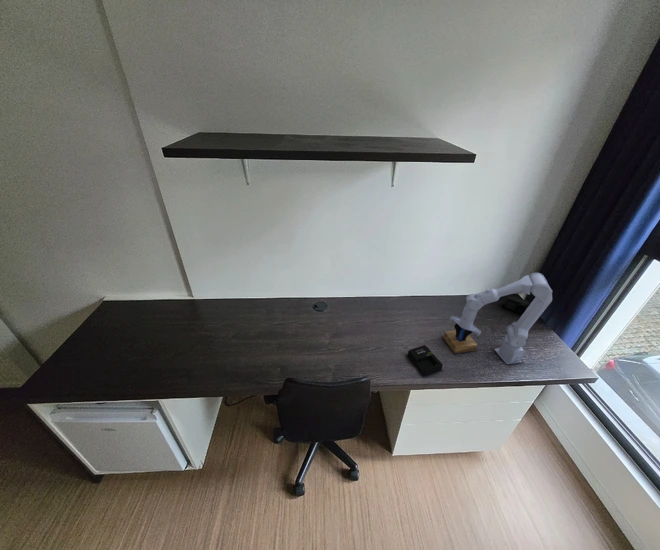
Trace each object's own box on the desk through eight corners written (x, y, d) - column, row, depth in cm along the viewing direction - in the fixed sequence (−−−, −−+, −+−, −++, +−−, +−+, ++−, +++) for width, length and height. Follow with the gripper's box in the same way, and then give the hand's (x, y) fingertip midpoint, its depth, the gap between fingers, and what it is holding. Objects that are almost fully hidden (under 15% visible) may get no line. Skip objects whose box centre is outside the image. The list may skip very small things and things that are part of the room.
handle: (463, 341, 145) (468, 328, 140) (460, 344, 143) (465, 331, 139) (458, 338, 147) (462, 325, 142) (455, 341, 145) (459, 328, 140)
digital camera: (503, 309, 170) (507, 299, 166) (504, 304, 174) (508, 295, 170) (523, 315, 165) (528, 306, 161) (524, 310, 169) (528, 301, 165)
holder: (475, 350, 142) (477, 344, 140) (454, 353, 140) (456, 347, 138) (462, 334, 151) (464, 329, 149) (443, 337, 150) (444, 331, 147)
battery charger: (407, 355, 139) (408, 349, 137) (423, 350, 142) (425, 344, 140) (423, 376, 129) (425, 370, 126) (441, 370, 132) (443, 364, 130)
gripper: (487, 321, 134) (478, 342, 141) (458, 306, 143) (451, 326, 151) (480, 327, 130) (471, 349, 137) (450, 312, 139) (444, 332, 147)
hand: (460, 337), depth 144 cm, fingers closed on handle, 3 cm apart
